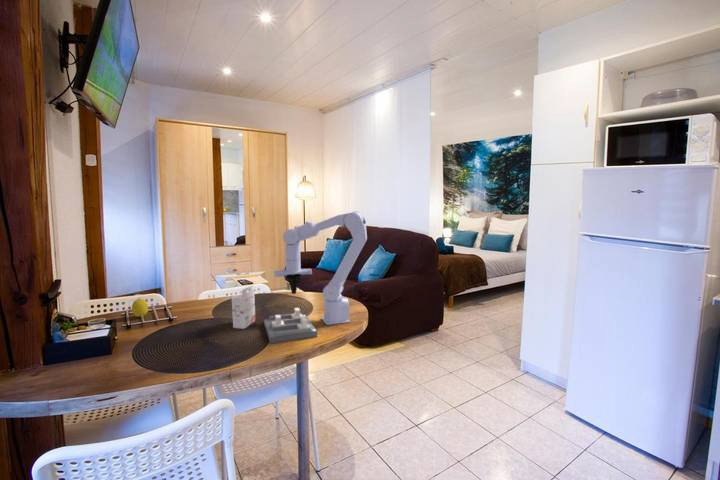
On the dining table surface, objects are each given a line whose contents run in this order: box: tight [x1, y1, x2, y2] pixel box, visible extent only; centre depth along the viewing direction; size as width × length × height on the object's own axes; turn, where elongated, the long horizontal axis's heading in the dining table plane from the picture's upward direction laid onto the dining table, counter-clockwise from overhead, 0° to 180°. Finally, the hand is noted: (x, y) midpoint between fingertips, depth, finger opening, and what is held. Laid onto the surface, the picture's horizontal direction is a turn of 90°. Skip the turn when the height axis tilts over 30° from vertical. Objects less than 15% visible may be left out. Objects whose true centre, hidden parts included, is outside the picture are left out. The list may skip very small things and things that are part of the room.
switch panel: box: [263, 312, 318, 344], centre depth 128 cm, size 16×18×3 cm
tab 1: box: [272, 314, 285, 329], centre depth 126 cm, size 4×4×4 cm
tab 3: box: [297, 317, 311, 329], centre depth 124 cm, size 4×4×4 cm
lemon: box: [131, 297, 149, 318], centre depth 140 cm, size 6×6×8 cm
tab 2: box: [291, 307, 304, 319], centre depth 134 cm, size 4×4×4 cm
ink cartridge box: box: [231, 284, 256, 330], centre depth 133 cm, size 9×5×15 cm, turn 168°
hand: (293, 293), depth 140 cm, fingers closed
